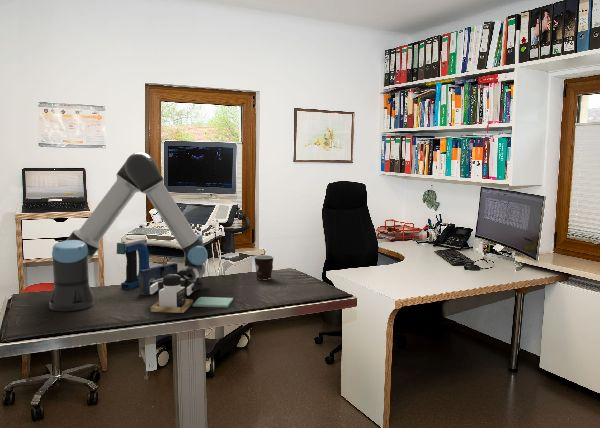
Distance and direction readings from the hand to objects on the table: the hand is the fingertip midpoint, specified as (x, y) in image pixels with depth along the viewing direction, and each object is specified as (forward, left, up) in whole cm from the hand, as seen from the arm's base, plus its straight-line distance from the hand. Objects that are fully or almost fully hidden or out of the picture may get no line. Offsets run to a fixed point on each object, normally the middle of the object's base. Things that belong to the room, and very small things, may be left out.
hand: (169, 291), depth 181 cm
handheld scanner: (-26, +31, -7) cm, 41 cm away
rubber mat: (+13, +10, -7) cm, 18 cm away
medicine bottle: (0, +3, -7) cm, 8 cm away
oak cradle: (0, +3, -7) cm, 8 cm away
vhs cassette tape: (-13, +26, -7) cm, 30 cm away
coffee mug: (+27, +49, -7) cm, 57 cm away
